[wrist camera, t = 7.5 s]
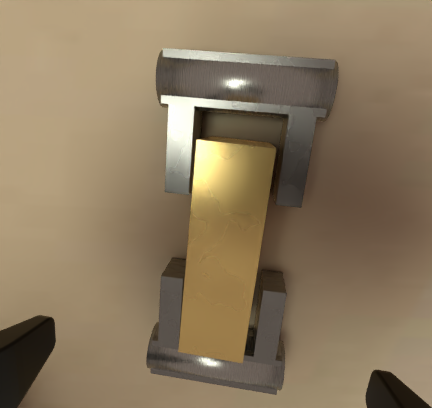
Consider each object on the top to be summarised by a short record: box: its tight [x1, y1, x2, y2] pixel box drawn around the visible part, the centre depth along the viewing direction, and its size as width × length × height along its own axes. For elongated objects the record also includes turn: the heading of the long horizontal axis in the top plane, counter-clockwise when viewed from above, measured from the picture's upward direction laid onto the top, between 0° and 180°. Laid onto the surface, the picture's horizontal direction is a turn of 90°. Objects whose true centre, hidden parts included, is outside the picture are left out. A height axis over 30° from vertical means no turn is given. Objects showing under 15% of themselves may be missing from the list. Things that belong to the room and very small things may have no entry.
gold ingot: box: [178, 136, 276, 363], centre depth 16 cm, size 11×3×5 cm, turn 174°
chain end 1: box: [156, 48, 338, 208], centre depth 16 cm, size 7×8×3 cm
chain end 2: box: [147, 258, 287, 395], centre depth 19 cm, size 7×8×3 cm
